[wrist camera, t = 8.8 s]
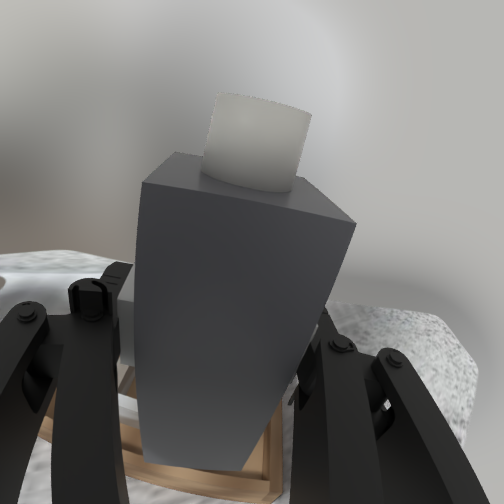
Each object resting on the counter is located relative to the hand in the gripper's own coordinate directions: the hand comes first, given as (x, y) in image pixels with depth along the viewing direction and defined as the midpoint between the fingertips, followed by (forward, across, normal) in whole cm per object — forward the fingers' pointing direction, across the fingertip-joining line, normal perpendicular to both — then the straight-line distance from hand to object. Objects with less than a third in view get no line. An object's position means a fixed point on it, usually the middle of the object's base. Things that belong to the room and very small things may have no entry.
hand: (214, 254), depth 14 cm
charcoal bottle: (-5, 0, -7) cm, 9 cm away
